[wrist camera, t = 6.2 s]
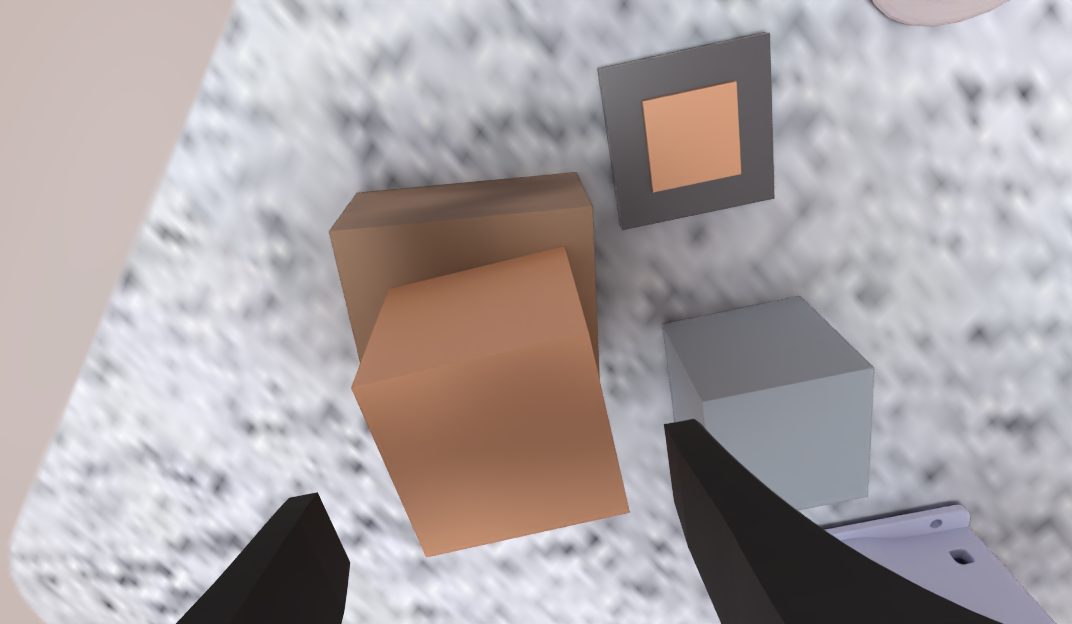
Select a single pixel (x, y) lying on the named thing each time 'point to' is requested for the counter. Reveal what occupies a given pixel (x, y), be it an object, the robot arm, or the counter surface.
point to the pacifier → (935, 10)
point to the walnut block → (459, 238)
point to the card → (690, 130)
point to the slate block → (778, 397)
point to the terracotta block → (490, 404)
